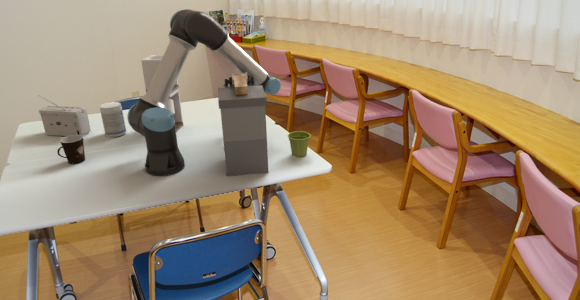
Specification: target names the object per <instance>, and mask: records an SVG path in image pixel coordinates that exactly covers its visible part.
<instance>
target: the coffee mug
mask: <svg viewBox="0 0 580 300" xmlns="http://www.w3.org/2000/svg"><path fill="white" fill-rule="evenodd" d="M59 141H60V144H61V146H59V148H58V149H57V155H58V156H59V157H61V158H64V159H67V163H68V164H70V165H78V164H82V163H84V161H86V156H85V154H86V153H85V143H84V142H85V141H84V136H81V135H71V136H63V137H62V138H60V139H59ZM61 149H63V152H64V155H65V156H64V155H61V153H60V151H61Z"/></svg>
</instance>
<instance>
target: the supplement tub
mask: <svg viewBox="0 0 580 300" xmlns="http://www.w3.org/2000/svg"><path fill="white" fill-rule="evenodd" d="M99 108H100V109H99V111H100V116H101V121H102V126H103V131H104V133H105V136H106V137H108V138H117V137H122V136H124V135H125V134H126V133H127V129H126V122H125V117H124V113H123V107H122V104H121V102H117V101H115V102H114V101H113V102H112V101H111V102H105V103H103V104H100V106H99Z"/></svg>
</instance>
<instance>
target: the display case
mask: <svg viewBox="0 0 580 300" xmlns="http://www.w3.org/2000/svg"><path fill="white" fill-rule="evenodd" d="M163 55H164V54H163ZM163 55H162V54H161V55H159V54H155V55H154V54H151V55H149V56H147V57H144V58H143V59H141V60H140V62H141V67H142V74H143V81H144V86H145V94H146V93H147V90H148V88H149V86H150V84H151V82H152V79H153V77H154V75H155V73H156V71H157V69H158V66H159V64H160V62H161V60H162V58H163ZM178 81H179V79H178V78H177V80H176V82H175V84H174V87H173V89H172V91H171V93H170V95H169V97H168V100H167V102H166V107H167V109H169V110H170V111H171V112H172V113H173V116H174V119H175V129H176V133H178V131H179V130H181V129H182V128H183V127H184V118H183V112H182V104H181V96H180V88H179V82H178Z"/></svg>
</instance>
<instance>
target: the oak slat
mask: <svg viewBox="0 0 580 300" xmlns="http://www.w3.org/2000/svg"><path fill="white" fill-rule="evenodd" d="M234 86H235V94H236V95H244V94H248V87H247V82H246V78H245V74H242V73H234Z"/></svg>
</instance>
